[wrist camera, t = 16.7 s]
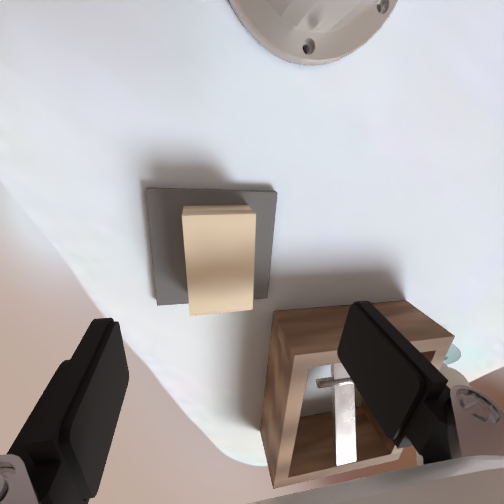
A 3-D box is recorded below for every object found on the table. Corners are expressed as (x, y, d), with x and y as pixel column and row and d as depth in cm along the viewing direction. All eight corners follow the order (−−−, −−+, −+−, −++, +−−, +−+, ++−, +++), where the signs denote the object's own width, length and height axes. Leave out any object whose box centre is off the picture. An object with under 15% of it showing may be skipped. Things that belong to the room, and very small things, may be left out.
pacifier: (393, 340, 32) (396, 372, 34) (436, 381, 26) (436, 416, 28) (444, 319, 32) (444, 352, 35) (498, 355, 26) (493, 391, 29)
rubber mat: (146, 187, 19) (145, 188, 18) (275, 191, 21) (277, 192, 20) (157, 301, 22) (157, 305, 22) (265, 294, 25) (267, 298, 24)
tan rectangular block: (183, 205, 19) (181, 215, 16) (247, 204, 20) (256, 213, 17) (190, 295, 22) (189, 316, 19) (245, 290, 23) (252, 309, 20)
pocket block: (273, 310, 26) (294, 355, 20) (406, 300, 29) (454, 336, 23) (260, 432, 33) (273, 488, 27) (367, 412, 36) (398, 459, 31)
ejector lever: (314, 327, 28) (319, 330, 27) (362, 322, 29) (368, 325, 28) (318, 463, 28) (322, 471, 27) (366, 452, 29) (372, 460, 28)
